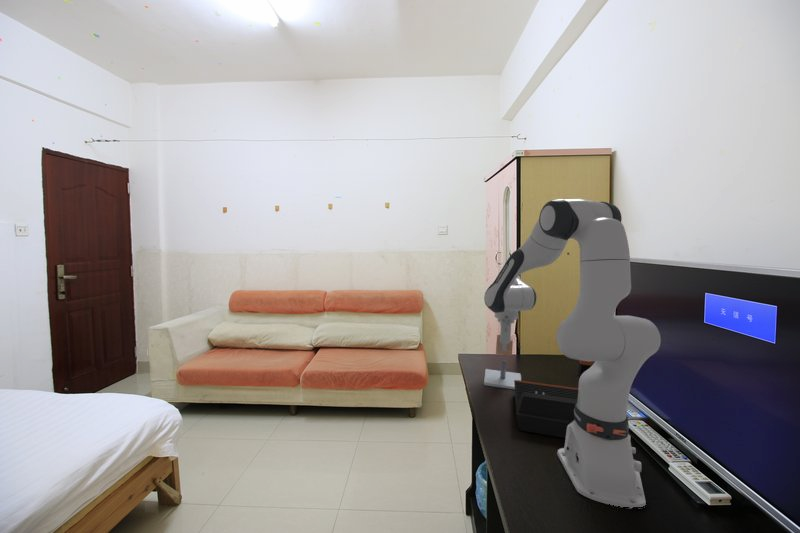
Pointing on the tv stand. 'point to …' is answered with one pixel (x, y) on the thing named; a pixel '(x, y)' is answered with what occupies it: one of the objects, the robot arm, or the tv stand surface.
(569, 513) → the tv stand surface
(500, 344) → the open-ended wooden box
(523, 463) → the tv stand surface
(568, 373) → the tv stand surface
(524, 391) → the video game console
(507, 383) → the keeper dock
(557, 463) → the tv stand surface
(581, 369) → the battery
